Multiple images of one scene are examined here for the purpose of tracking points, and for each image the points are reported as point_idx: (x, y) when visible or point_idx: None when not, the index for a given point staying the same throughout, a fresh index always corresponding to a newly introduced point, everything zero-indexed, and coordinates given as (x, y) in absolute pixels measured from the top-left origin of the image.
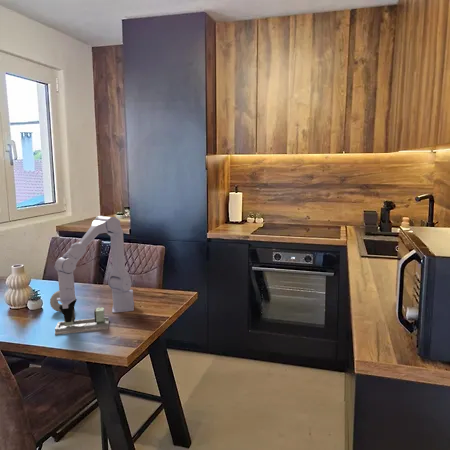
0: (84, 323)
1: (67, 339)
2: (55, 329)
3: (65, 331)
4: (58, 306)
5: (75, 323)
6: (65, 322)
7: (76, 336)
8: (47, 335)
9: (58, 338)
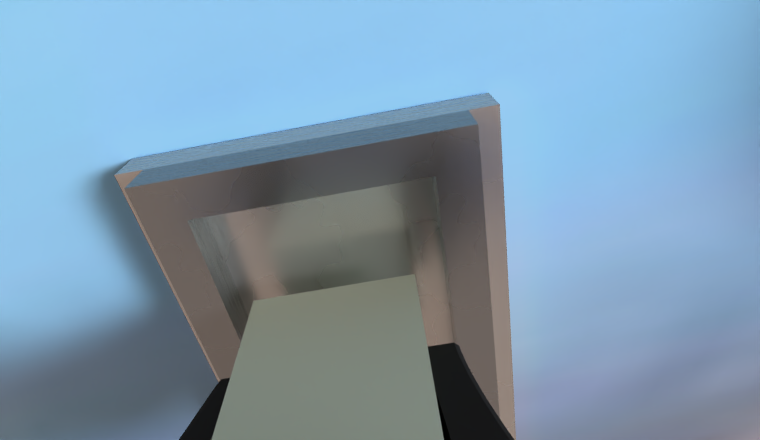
0: None
1: (30, 347)
2: (130, 193)
3: (178, 301)
4: None
5: (449, 339)
6: (245, 357)
7: (130, 401)
8: (87, 40)
9: (26, 245)
